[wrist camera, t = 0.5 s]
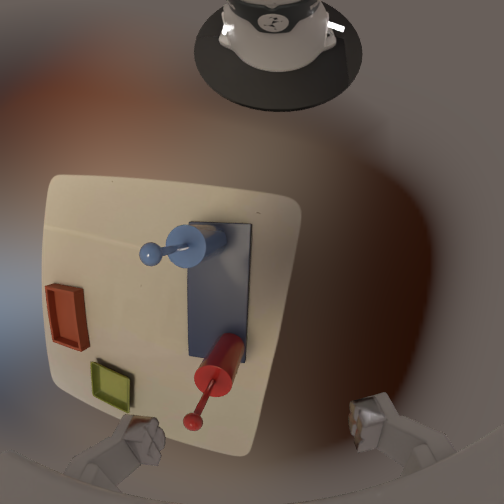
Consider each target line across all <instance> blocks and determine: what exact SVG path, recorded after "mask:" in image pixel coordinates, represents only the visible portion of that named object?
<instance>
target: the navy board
mask: <svg viewBox="0 0 504 504" xmlns="http://www.w3.org/2000/svg"><path fill="white" fill-rule="evenodd" d="M189 225H216V226H218V227H220V228H221V229H222V230H223V231H224V233H225V235H226V238H227V244H226V247H225V250H224V251H223V252H222V253H221V254H220V255H218V256H216V257H214V258H212V259H210V260H207V261H205V262H203V263H201V264H199V265H197V266H194V267H192V268H188V275H187V300H188V346H189V356H193V357H200V358H205V357H206V355H207V353H208V352H209V350H210V349H211V347H212V345H213V344H214V342H215V340H216V339H217V338H218V337H219V336H220V335H222V334H224V333H232V334H235V335H237V336H239V337H240V338H241V339H242V341H243V343H244V346H245V350H244V353H243V356H242V359H241V362H240V363H245V361H246V341H247V319H248V296H249V274H250V251H251V229H252V224H241V223H216V222H189Z"/></svg>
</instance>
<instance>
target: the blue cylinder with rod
mask: <svg viewBox="0 0 504 504" xmlns="http://www.w3.org/2000/svg"><path fill="white" fill-rule="evenodd" d="M226 244H227V238H226V235H225V233H224V231H223V230H222V229H221V228H220V227H218V226H216V225H180V226H177V227H176V228H174V229H173V230H172V231H171V232H170V233H169V235H168V237H167V240H166V247H161V248H160V246H159V245H158V244H156V243H153V242H149V243H146V244H144V245H143V246H142V247H141V249H140V252H139V257H140V260H141V261H142V262H143V263H144V264H145V265H147V266H155V265H157V264H158V263H159V262H160V261H161V259H162V256H165V255H168V257H169V259H170V260H171V261H172V262H173V263H174V264H175V265H177V266H179V267H182V268H192V267H194V266H197V265H199V264H201V263H203V262H205V261H207V260H210V259H212V258H214V257H216V256H218V255H220V254H221V253H222V252H223V251H224V250H225V247H226Z"/></svg>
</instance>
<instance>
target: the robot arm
mask: <svg viewBox="0 0 504 504" xmlns="http://www.w3.org/2000/svg"><path fill="white" fill-rule="evenodd" d="M227 3H228V4H225V5H224V7H223V10H224V12H222V20H223V23H224V28H223V30H222V32H221V35H220V37H219V42H220V44H221V45H222V46H223V47H225V48H228V49H230V50H232V51H234V52H235V53H236V54H237V56H238V57H239V58H240V59H241V60H242V61H243V62H245V63H246V64H248V65H250V66H252V67H254V68H257V69H260V70H264V71H270V72H287V71H293V70H297V69H300V68H302V67H305V66H307V65H308V64H310V63H311V62H313V61H314V60H315V59H316V58H317V57H318V56H319V55H320V54H321V53H322V52H323V51H326V50H329V49H331V48H333V47H335V46H336V38H335V35H334V33H333V31H332V28H333V29H336V30H339V31H342V32H343V30H344V27H343V26H340V25H337V24H334V23H331V22H329V13H328V12H326V10H325V8H324V6H323V4H322V2H321V1H320V0H227ZM327 36H329V37H327ZM350 410H351V413H350V414H349V428H350V432H351V434H352V435H354V436H355V439H354V443H355V446H356V449H357V452H358V453H360V452H364V451H368V450H371V449H375V448H377V449H378V450H380V451H381V452H382V453H384V454H385V455H387V456H388V457H390V458H391V459H393V460H394V461H395V462H397V463H399V464H400V465H402V466H403V467H404V469H403V471H402V473H401V475H400V477H399V478H397V479H395V480H392V481H389V482H386V483H383V484H380V485H377V486H373V487H370V488H366V489H363V490H359V491H355V492H351V493H347V494H343V495H338V496H334V497H329V498H324V499H318V500H312V501H306V502H298V503H290V504H504V424H502V425H501V426H500V427H498V428H496V429H495V430H494V431H492V432H490V433H489V434H487V435H486V436H484V437H482V438H481V439H479V440H478V441H476V442H475V443H472V444H471V445H469V446H467V447H466V448H464V449H462V450H460V451H458V452H457V451H456V450H455V448H454V447H453V445H452V444H451V442H450V440H449V439H448V438H447V436H446V434H445V433H443V432H440V431H438V430H435V429H433V428H430V427H428V426H426V425H423V424H421V423H418V422H416V421H414V420H412V419H410V418H407V417H405V416H399V414H398V413H397V411H396V409H395V407H394V406H393V404H392V402H391V400H390V399H389V397H388V395H387V394H386V393H385V392H384V393H381V394H377V395H374V396H370V397H366V398H362V399H358V400H354V401H351V403H350ZM158 425H159V421H158V420H157V418H155V417H148V416H139V415H129V414H125V415H123V417H122V418H121V420H120V422H119V424H118V426H117V428H116V429H115V432H114V433H113V435H112V437H108V438H106V439H104V440H102V441H101V442H99V443H97V444H96V445H94V446H92V447H90V448H89V449H87V450H85V451H83V452H82V453H80V454H78V455H76V456H74V457H73V458H72V460H71V462H70V463H69V465H68V467H67V468H66V470H65V472H64V473H63V474H62V473H59V472H57V471H55V470H52V469H50V468H48V467H46V466H43V465H41V464H39V463H37V462H35V461H32V460H31V459H29V458H27V457H25V456H23V455H21V454H19V453H18V452H15V451H12V450H9V451H5V452H1V453H0V504H181V503H173V502H166V501H159V500H153V499H148V498H143V497H138V496H133V495H129V494H124V493H122V492H121V491H120V490H119V489H118V488H117V485H118V484H119V483H121V482H122V481H123V480H124V479H125V478H126V477H128V476H129V475H130V474H131V473H132V472H133V471H135V470H136V469H137V468H138V467H139V466H140V465H141V464H146V465H155V466H158V464H159V461H160V458H161V453H160V451H161V450H162V449H163V448H164V446H165V438H166V437H165V433H164V431H163V429H161V428H160V427H159V426H158Z"/></svg>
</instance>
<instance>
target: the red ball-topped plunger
mask: <svg viewBox="0 0 504 504" xmlns="http://www.w3.org/2000/svg"><path fill="white" fill-rule="evenodd" d="M244 350H245V346H244V343H243V341H242V339H241V338H240V337H239V336H237V335H235V334H232V333H224V334H222V335H220V336H219V337H218V338H217V339H216V340H215V342H214V344H213V345H212V347H211V349H210V350H209V352H208V353H207V355H206V357H205V358H204V360H203V361H202V363H201V364H200V366H199V368H198V369H197V371H196V373H195V376H194V381H195V384H196V386H197V387H198V389H199V390H200V391H201V392H203V395H202V397H201V399H200V401H199V403H198V405H197V407H196V409H195V411H194V413H189V414H187V415H186V416H185V417H184V419H183V424H184V426H185V427H186V428H187V429H188V430H190V431H197V430H199V429H200V428H201V427H202V425H203V420H202V418H201V416H200V415H201V413H202V411H203V409H204V407H205V405H206V403H207V400H208V398H209V396H212V397H221V396H224V395H226V394H227V393H228V392H229V391H230V390H231V388H232V385H233V382H234V379H235V376H236V374H237V371H238V368H239V365H240V362H241V359H242V356H243V353H244Z"/></svg>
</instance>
